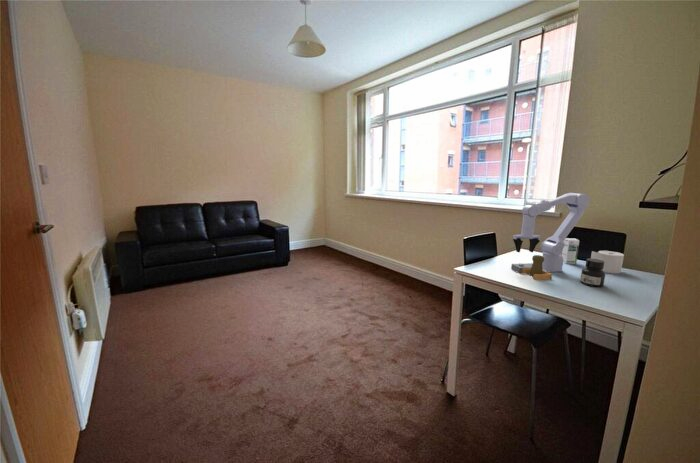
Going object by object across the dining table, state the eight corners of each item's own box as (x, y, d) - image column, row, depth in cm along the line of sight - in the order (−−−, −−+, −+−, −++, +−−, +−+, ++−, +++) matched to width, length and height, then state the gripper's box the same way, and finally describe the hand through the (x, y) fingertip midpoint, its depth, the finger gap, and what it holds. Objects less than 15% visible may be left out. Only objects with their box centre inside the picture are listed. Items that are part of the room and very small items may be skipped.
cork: (541, 274, 157) (544, 254, 155) (543, 278, 152) (546, 257, 149) (528, 273, 159) (530, 253, 157) (530, 277, 154) (532, 256, 151)
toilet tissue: (626, 273, 159) (629, 255, 157) (603, 273, 159) (606, 255, 157) (609, 267, 169) (612, 250, 167) (588, 267, 169) (591, 250, 167)
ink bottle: (575, 282, 147) (578, 258, 144) (585, 279, 150) (589, 256, 148) (597, 289, 138) (601, 264, 136) (608, 286, 142) (612, 262, 139)
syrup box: (565, 263, 176) (569, 239, 173) (560, 260, 182) (563, 237, 179) (576, 264, 175) (580, 240, 173) (570, 261, 181) (574, 237, 178)
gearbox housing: (531, 268, 167) (532, 261, 167) (553, 278, 151) (554, 271, 150) (511, 268, 166) (511, 262, 166) (531, 279, 150) (532, 271, 149)
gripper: (520, 228, 155) (516, 253, 158) (545, 228, 157) (542, 253, 159) (511, 226, 162) (508, 250, 165) (536, 226, 164) (533, 250, 166)
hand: (524, 251), depth 163 cm, fingers open, 7 cm apart
